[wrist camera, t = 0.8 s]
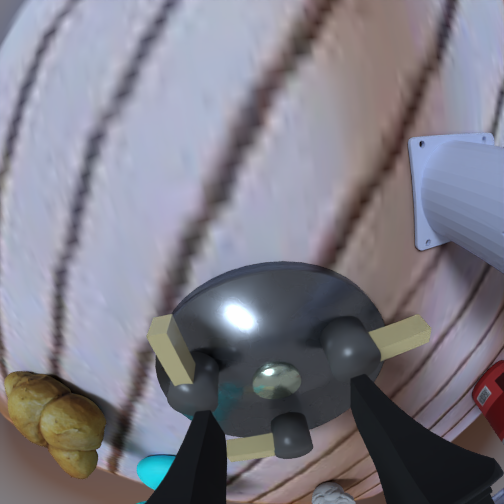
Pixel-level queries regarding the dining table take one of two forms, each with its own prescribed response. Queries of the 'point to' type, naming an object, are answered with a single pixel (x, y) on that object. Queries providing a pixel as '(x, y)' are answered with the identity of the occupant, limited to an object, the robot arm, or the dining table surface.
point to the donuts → (154, 470)
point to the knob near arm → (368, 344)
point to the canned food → (492, 397)
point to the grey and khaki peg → (184, 369)
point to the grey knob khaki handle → (275, 440)
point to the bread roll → (56, 420)
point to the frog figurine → (331, 494)
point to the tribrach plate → (271, 342)
